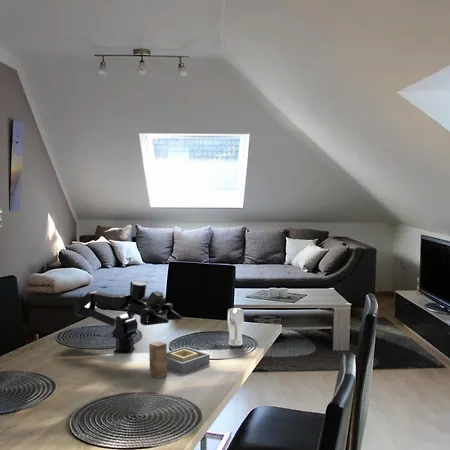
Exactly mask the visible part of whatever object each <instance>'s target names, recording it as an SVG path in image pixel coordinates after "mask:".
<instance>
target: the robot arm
mask: <svg viewBox="0 0 450 450" xmlns="http://www.w3.org/2000/svg"><path fill="white" fill-rule="evenodd" d="M129 286H130V287H129V288H130V289H129V293H127V294H126V293H125V294H112V293H110V294H109V293H106V292H99V291H97V290H93V291H90V292H87V293H86V294H85V295H84V296H83V297H81V299H79V300H78V301H77V302H76V303H74V304H73V307H72V310H73V313H74V314H75V316H77V317H80V318H81V317H82V318H83V317H88V318H89V317H90V318H92V319H93V320H97V321H99V322H102V323H103V324H106V325H109V326H111V327H112V328H113V330H112V332H111V334H112V338H114V339H115V349H113V352H115V353H116V352H117V353H122V354H123V353H124V354H128V353H130V352H132V351H134V350H135V349H136V347H135V345H134V344H135V343H134V339H133V335H135V334H136V332H137V330H138V321H137V319H136V318H135V317H134V316H135V315H137V316H139V323H140V325H142V326H144V327H145V326H153V325H162V324H169V322H170V321H175V320H176V321H177V320H181V319H182V316H181V315H180V314H179V313H177V312H176V311H175V310H174V309H173V308H174V304H173V303H171V302H167V303H164V304H163V305H161V304H160V303H161V301H162V299H163V297H164V295H163V292H162V291H158V290H155V291H151V293H150V295H148V298H147V300H146V302H145V301H142V300H143V299H144V298H145V297H146V292H147V291H146V290H147V282H145V281H137V280H132V281H130V285H129ZM98 303H99V304H103V305H108V306H111V307H112V308H113V309H115V310H118V311H125V310H127V311H126V313H124V314H121V315H118V314H114V313H111V312H109V311H106V310H104V309H101V308H100V307H97V306H96V305H97V304H98ZM160 307H161V310H160Z"/></svg>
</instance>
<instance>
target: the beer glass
mask: <svg viewBox="0 0 450 450" xmlns="http://www.w3.org/2000/svg"><path fill="white" fill-rule="evenodd" d="M244 322H245V318H244V309H243V308H241V307H240V308H239V307H232V308H228V309H227V326H228V328H227V329H228V333H229V337H228V345H229V346H232V347H240V346H242V345H243V344H244V343H243V331H244V325H245V324H244Z"/></svg>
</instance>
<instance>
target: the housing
mask: <svg viewBox="0 0 450 450" xmlns="http://www.w3.org/2000/svg"><path fill="white" fill-rule="evenodd" d="M210 360H211V359H210V354H209V353H207V352H204V351H201V350H196V349H194V348H191V347H187V346H183V347H180V348H179V347H178V348H176V349H173V350H170V351H167V368H169V369H171V370H173V371H177V372H180V373H181V374H182V373H186V372H188V371H191V370H194V369H197V368H200V367H203V366H206V365H208V364H210V362H211V361H210Z"/></svg>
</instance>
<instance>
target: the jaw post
mask: <svg viewBox="0 0 450 450" xmlns="http://www.w3.org/2000/svg"><path fill="white" fill-rule="evenodd" d="M148 345H149V346H148V347H149V348H148V349H149V353H148V354H149V360H148V361H149V377H151V378H154V379H157V380H158V379H162V378H164V377H167V376H168V373H167V372H168V367H167V352H168V351H167V348H168V347H167V346H168V344H167V343H166V342H162V341H159V340H158V341H154V342H151V343H149V344H148Z"/></svg>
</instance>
